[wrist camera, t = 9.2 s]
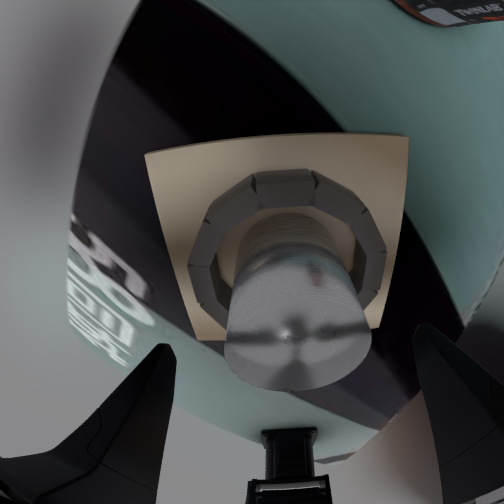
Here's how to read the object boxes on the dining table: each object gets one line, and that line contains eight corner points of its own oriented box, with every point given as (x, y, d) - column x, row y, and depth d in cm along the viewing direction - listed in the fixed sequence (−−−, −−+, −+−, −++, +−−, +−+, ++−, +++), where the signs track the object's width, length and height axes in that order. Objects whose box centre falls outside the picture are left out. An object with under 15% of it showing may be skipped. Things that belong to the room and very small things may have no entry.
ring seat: (376, 321, 17) (386, 347, 15) (199, 333, 18) (192, 361, 16) (403, 135, 11) (428, 145, 9) (149, 152, 12) (127, 164, 10)
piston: (332, 293, 15) (357, 384, 10) (243, 299, 15) (235, 393, 10) (338, 209, 12) (385, 291, 7) (231, 216, 13) (210, 304, 8)
